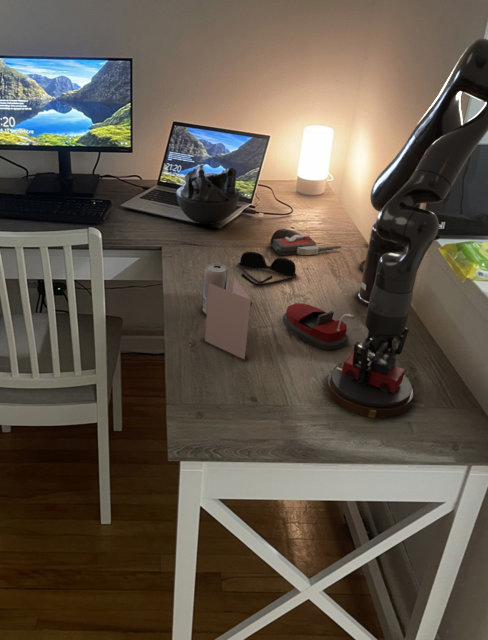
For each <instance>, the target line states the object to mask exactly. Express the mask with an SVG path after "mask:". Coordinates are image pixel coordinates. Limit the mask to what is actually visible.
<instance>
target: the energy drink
mask: <svg viewBox="0 0 488 640" xmlns="http://www.w3.org/2000/svg"><path fill="white" fill-rule="evenodd" d="M227 281H228V269H227V266H226V265H224V264H221V263H209V264H208V265H206V268H205V270H204V281H203V285H204V286H203V295H202V297H203V298H202V312H203V313H204V314H205V315H207V303H208V288H209V283H210V284H213V285H215V286H218V287H220V288H223V289H225V290H227Z"/></svg>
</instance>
